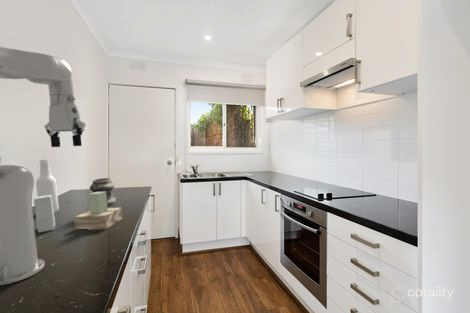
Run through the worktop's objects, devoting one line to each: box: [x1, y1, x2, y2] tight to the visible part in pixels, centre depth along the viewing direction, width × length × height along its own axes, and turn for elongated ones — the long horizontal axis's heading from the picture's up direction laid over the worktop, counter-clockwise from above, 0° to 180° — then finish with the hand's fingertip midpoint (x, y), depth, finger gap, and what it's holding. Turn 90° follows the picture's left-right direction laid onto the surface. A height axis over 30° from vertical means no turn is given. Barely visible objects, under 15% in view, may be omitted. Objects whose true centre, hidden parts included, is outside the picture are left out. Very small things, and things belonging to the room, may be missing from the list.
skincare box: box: [33, 195, 57, 233], centre depth 108 cm, size 8×6×15 cm
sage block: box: [88, 192, 109, 214], centre depth 111 cm, size 5×5×9 cm
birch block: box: [73, 206, 124, 230], centre depth 112 cm, size 14×14×6 cm
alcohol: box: [35, 158, 60, 214], centre depth 134 cm, size 9×9×30 cm
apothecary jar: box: [89, 177, 117, 208], centre depth 131 cm, size 12×12×18 cm
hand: (66, 146), depth 92 cm, fingers open, 9 cm apart
